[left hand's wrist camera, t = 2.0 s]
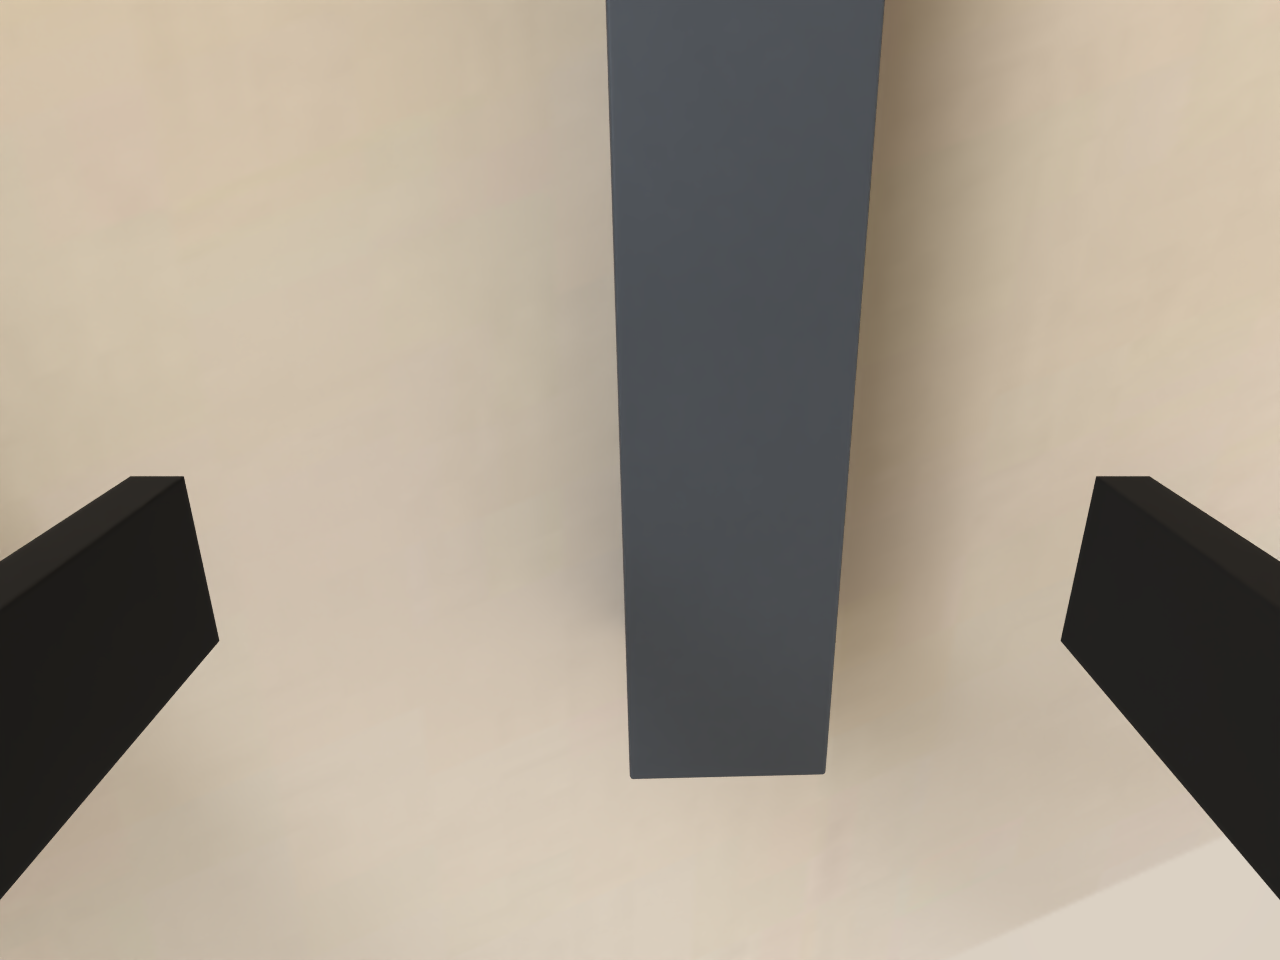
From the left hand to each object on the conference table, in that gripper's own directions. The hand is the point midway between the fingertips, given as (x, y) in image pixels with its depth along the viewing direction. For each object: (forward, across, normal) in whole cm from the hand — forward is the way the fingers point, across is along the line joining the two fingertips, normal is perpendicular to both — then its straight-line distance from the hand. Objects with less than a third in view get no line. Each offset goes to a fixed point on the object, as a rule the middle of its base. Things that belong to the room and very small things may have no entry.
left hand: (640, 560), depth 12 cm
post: (+14, -2, -16) cm, 22 cm away
